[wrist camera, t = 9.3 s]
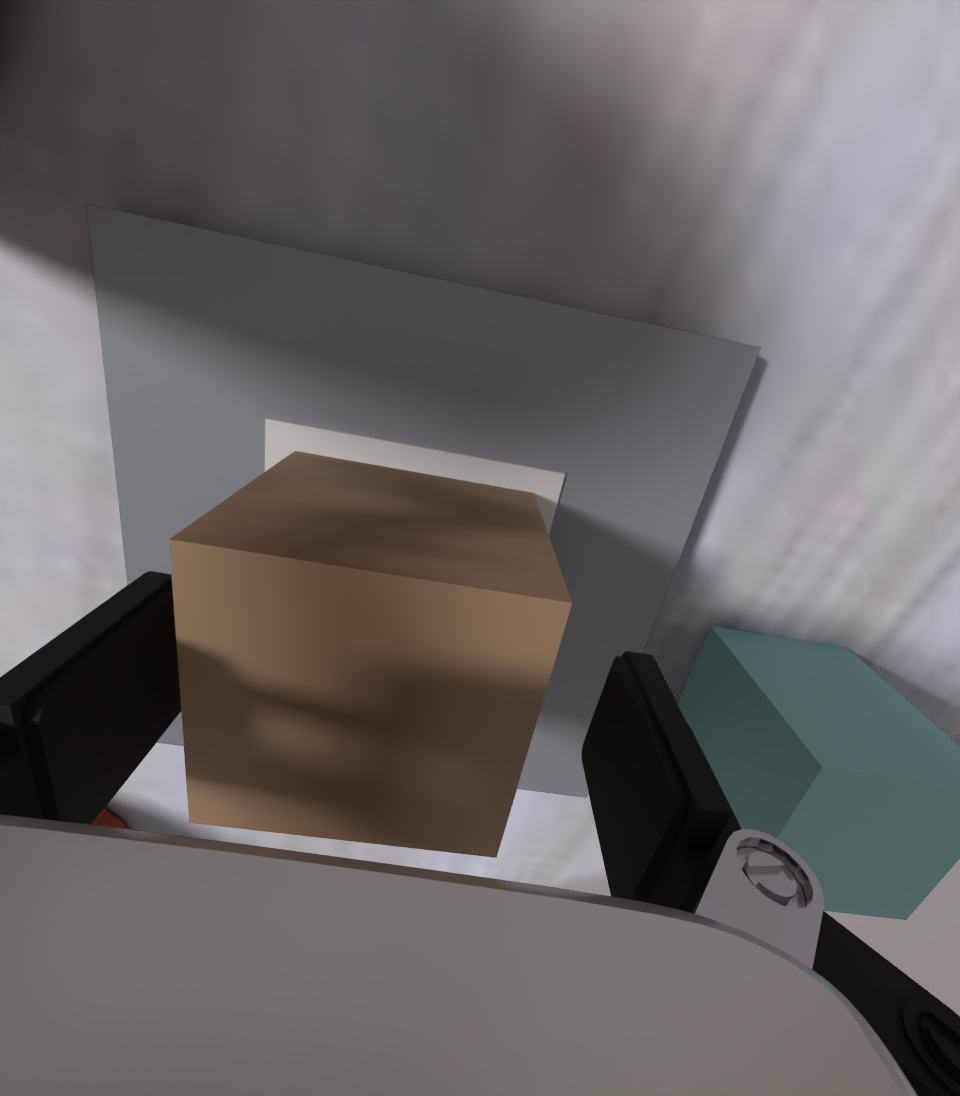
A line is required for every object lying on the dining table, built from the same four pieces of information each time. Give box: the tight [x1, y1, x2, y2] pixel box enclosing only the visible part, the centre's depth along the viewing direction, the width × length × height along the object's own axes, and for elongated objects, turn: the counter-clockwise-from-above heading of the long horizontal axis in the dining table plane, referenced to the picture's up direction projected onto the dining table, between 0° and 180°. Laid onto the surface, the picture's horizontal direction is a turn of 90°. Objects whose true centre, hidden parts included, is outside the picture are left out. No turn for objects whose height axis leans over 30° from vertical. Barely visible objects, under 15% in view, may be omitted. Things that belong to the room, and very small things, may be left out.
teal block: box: [677, 626, 960, 920], centre depth 16 cm, size 5×5×6 cm
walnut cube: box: [169, 451, 572, 857], centre depth 12 cm, size 6×6×6 cm
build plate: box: [86, 204, 761, 798], centre depth 15 cm, size 16×16×1 cm
